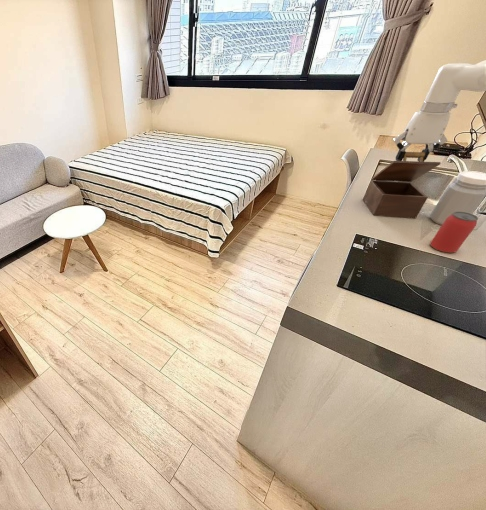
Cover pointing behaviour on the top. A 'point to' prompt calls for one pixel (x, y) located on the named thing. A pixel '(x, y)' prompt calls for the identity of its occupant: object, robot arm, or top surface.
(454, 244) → the beer can
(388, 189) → the storage box
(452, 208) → the jar
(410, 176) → the box lid
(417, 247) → the top surface
